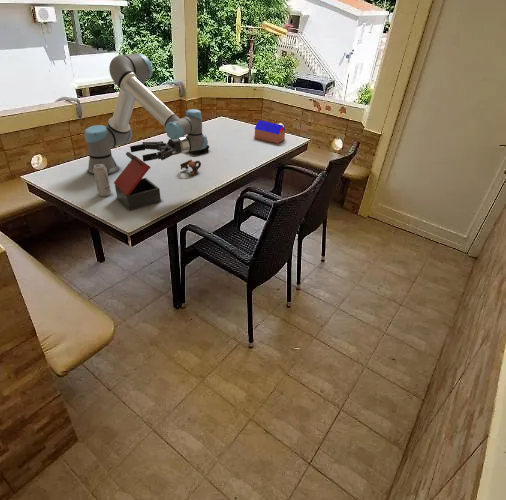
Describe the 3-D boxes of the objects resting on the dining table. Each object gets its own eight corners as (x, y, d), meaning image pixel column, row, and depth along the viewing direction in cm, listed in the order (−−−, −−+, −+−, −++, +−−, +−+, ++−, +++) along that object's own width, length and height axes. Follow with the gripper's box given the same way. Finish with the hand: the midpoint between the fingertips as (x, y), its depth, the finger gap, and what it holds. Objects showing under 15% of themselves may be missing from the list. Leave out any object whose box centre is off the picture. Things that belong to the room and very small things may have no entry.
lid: (136, 156, 168) (124, 147, 162) (150, 167, 159) (138, 157, 153) (115, 184, 168) (102, 175, 162) (128, 196, 159) (114, 187, 153)
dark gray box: (147, 190, 181) (145, 177, 176) (160, 201, 171) (159, 188, 167) (117, 197, 172) (114, 184, 168) (129, 210, 163) (127, 196, 159)
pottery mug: (187, 177, 196) (181, 164, 193) (183, 178, 204) (176, 165, 202) (205, 169, 200) (199, 155, 197) (200, 170, 208) (194, 157, 206)
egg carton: (199, 156, 223) (199, 150, 220) (163, 146, 234) (162, 141, 232) (215, 149, 235) (215, 143, 233) (180, 139, 247) (180, 134, 245)
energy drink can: (109, 197, 172) (103, 168, 163) (97, 196, 172) (90, 168, 163) (112, 191, 177) (107, 163, 168) (100, 191, 176) (94, 163, 168)
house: (277, 143, 251) (278, 127, 245) (253, 137, 260) (254, 121, 253) (285, 139, 260) (286, 123, 253) (262, 134, 268) (263, 118, 261)
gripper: (191, 161, 165) (149, 170, 154) (166, 145, 181) (127, 153, 170) (190, 145, 161) (147, 154, 150) (165, 131, 176) (124, 138, 165)
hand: (136, 153), depth 160 cm, fingers open, 13 cm apart
